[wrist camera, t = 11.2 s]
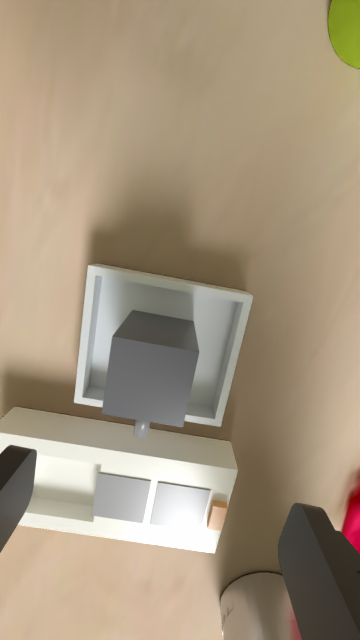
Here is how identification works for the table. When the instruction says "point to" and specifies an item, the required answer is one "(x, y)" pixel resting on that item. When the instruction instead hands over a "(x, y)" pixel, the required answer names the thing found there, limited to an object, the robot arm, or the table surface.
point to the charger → (151, 370)
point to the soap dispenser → (345, 30)
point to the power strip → (123, 480)
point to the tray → (168, 300)
